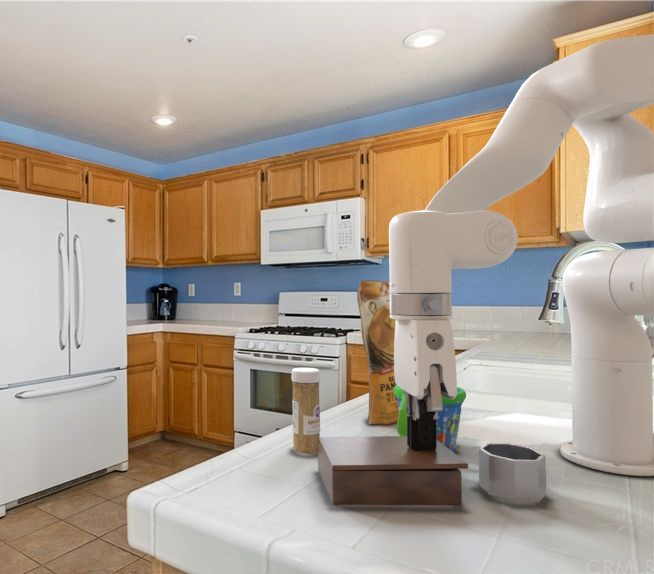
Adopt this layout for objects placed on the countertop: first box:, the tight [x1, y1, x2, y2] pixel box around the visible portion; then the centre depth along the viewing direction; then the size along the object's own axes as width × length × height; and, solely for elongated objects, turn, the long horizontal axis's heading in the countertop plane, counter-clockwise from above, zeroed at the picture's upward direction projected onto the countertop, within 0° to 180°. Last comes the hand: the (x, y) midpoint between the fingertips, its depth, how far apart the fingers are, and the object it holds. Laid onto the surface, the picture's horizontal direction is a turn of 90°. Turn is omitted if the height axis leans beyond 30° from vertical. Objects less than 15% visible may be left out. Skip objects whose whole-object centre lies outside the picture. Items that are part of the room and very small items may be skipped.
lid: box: [318, 435, 469, 470], centre depth 64 cm, size 16×11×1 cm
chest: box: [317, 442, 463, 507], centre depth 64 cm, size 15×11×5 cm
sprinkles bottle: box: [291, 367, 321, 455], centre depth 79 cm, size 5×5×14 cm
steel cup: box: [478, 442, 547, 503], centre depth 62 cm, size 7×7×6 cm
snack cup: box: [394, 385, 467, 453], centre depth 80 cm, size 16×10×10 cm
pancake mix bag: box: [356, 279, 399, 425], centre depth 100 cm, size 7×19×28 cm, turn 125°
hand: (421, 448), depth 64 cm, fingers closed
